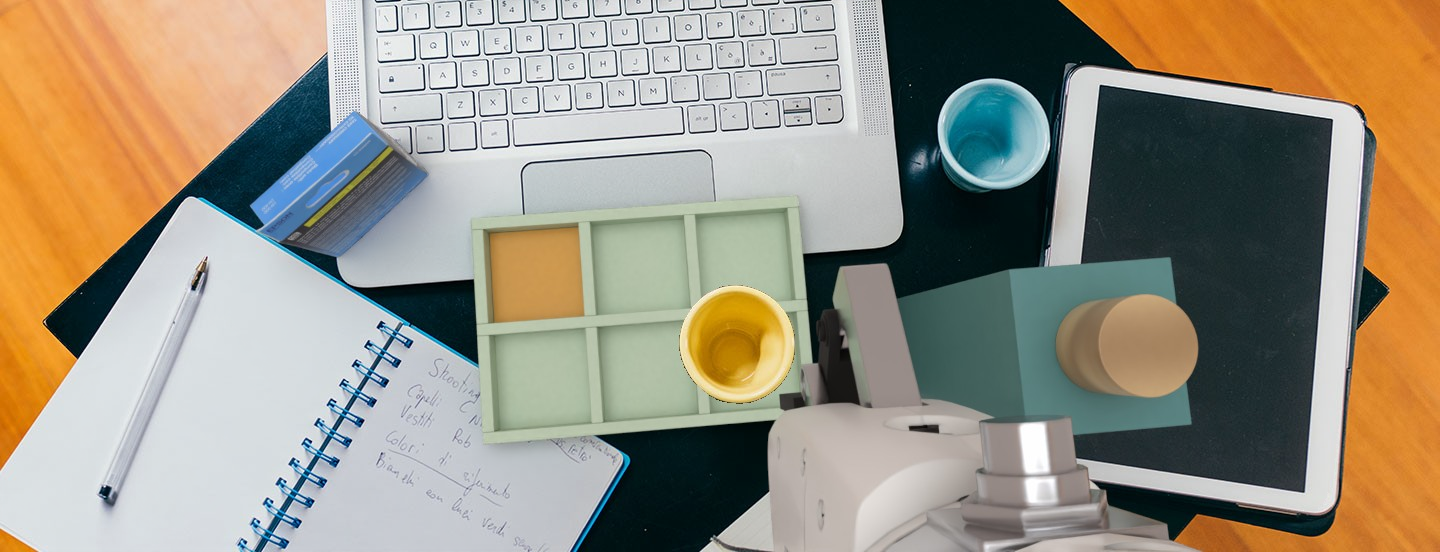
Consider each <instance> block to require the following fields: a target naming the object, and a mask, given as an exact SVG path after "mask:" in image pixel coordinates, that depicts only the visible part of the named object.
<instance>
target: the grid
mask: <svg viewBox="0 0 1440 552" xmlns="http://www.w3.org/2000/svg"><path fill="white" fill-rule="evenodd" d="M801 228H802V227H801V219H800V208H799V196H798V195H788V196H775V197H760V198H746V199H732V200H717V201H716V200H715V201H700V202H688V203H687V202H686V203H675V204H674V203H673V204H659V205H657V204H656V205H645V206H644V205H643V206H642V205H641V206H629V207H616V208H602V209H586V210H572V211H558V212H542V213H541V212H540V213H528V214H515V215H499V216H485V217H471V218H470V229H471V246H472V247H471V248H472V265H473V268H472V269H473V283H474V284H473V285H474V301H475V302H474V303H475V321H476V336H477V338H476V341H477V358H478V360H477V361H478V373H479V374H478V377H479V396H480V397H479V398H480V413H481V414H480V415H481V431H482V445H496V444H508V443H509V444H510V443H518V442H519V443H521V442H529V441H530V442H531V441H545V440H556V439H566V438H567V439H568V438H578V437H589V436H602V435H615V434H623V433H624V434H625V433H626V434H627V433H637V432H649V431H660V430H673V429H682V428H683V429H685V428H696V427H706V426H718V425H719V426H720V425H728V424H743V423H744V424H745V423H754V422H755V423H756V422H765V421H776V420H777V418H778V417H779V416H780V415H781V414H782V413H783V412H784V410H782V409H780V399H779V394H785V393H796V392H801V385H800V366H801V364H812V363H813V353H812V341H811V331H810V318H809V311H808V310H809V307H808V300H807V298H808V297H807V285H806V274H805V263H804V252H803V241H802V231H801V230H802V229H801ZM728 285H743V286H748V287H752V288H755V289H757V290H760V291H762V292H764V293H766V294H767V295H769V296H770V297H772V298H773V299H774V300H775V301H776V302H777V303H778V304H779V305H780V306H781V308H782V309H783V310H784V311H785V312H786V313H787V315H788V316H789V319H790V321H791V324H792V327H793V330H794V334H795V355H794V360H793V363H792V365H791V369H790V371H789V373H788V374H787V377H786V378H785V380H784V381H783V382H782V384H781V385H780V386H779V387H778V388H777V389H776V390H775V391H773V392H772V393H770V394H769V395H767V396H766V397H764V398H762V399H759V400H757V401H754V402H751V403H743V404H736V403H727V402H722V401H719V400H716V399H715V398H713V397H711V396H709V394H707V393H706V392H704V391H703V390H702V389H701V388H700V387H699V386H698V385H696V384H695V383H694V382H693V380H692V379H691V378H690V376H689V375H688V373H687V371H686V369H685V368H684V365H683V362H682V360H681V356H680V351H679V335H680V331H681V327H682V324H683V321H684V320H685V318H686V317H687V315H688V313H689V312H690V310H691V309H692V307H693V306H694V305H695V304H696V303H697V302H698V301H699V300H700V299H701V298H702V297H703V296H704V295H706V294H707V293H709V292H711V291H713V290H715V289H717V288H719V287H722V286H728Z"/></svg>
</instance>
